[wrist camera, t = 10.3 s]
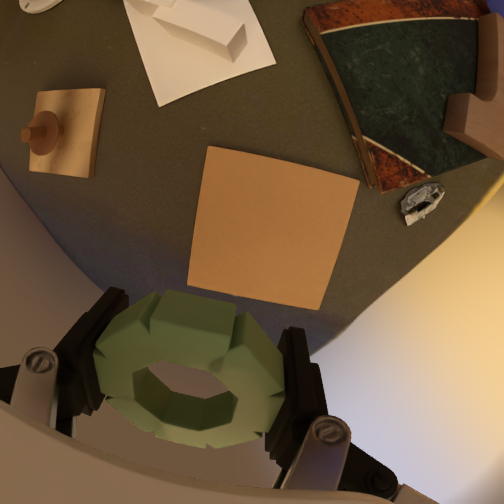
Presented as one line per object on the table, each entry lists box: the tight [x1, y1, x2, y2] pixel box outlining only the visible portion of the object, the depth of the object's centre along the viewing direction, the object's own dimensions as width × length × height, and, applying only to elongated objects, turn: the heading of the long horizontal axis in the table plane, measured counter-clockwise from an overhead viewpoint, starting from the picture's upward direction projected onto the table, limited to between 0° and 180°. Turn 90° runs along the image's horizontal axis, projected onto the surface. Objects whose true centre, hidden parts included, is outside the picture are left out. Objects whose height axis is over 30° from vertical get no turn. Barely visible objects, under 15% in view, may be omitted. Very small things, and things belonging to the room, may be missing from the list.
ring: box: [93, 289, 285, 449], centre depth 9 cm, size 6×6×2 cm
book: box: [300, 0, 491, 195], centre depth 19 cm, size 17×4×25 cm
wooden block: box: [443, 12, 504, 161], centre depth 15 cm, size 7×3×15 cm
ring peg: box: [21, 88, 106, 178], centre depth 21 cm, size 9×9×7 cm
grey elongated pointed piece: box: [401, 183, 445, 226], centre depth 26 cm, size 6×2×3 cm
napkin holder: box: [123, 0, 276, 107], centre depth 17 cm, size 15×11×6 cm
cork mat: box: [187, 146, 360, 310], centre depth 28 cm, size 14×14×1 cm
